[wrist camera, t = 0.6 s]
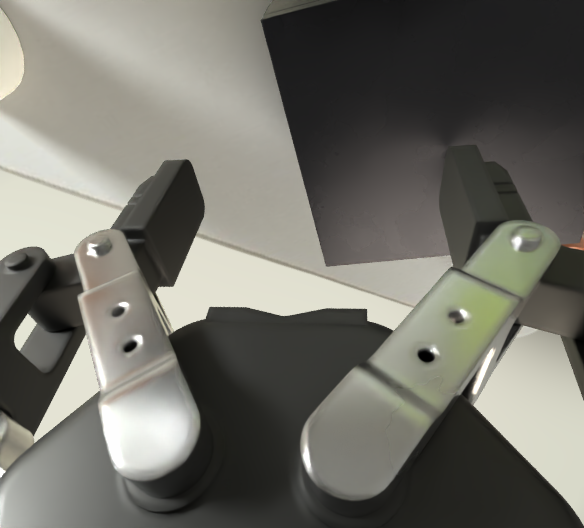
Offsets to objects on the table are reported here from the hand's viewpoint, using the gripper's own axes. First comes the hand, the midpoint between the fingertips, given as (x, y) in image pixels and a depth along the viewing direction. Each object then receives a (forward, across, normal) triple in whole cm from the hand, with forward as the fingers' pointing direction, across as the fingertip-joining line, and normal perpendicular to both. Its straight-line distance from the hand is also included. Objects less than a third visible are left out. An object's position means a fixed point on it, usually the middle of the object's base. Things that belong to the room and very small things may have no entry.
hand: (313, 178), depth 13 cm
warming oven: (+17, -6, +4) cm, 19 cm away
